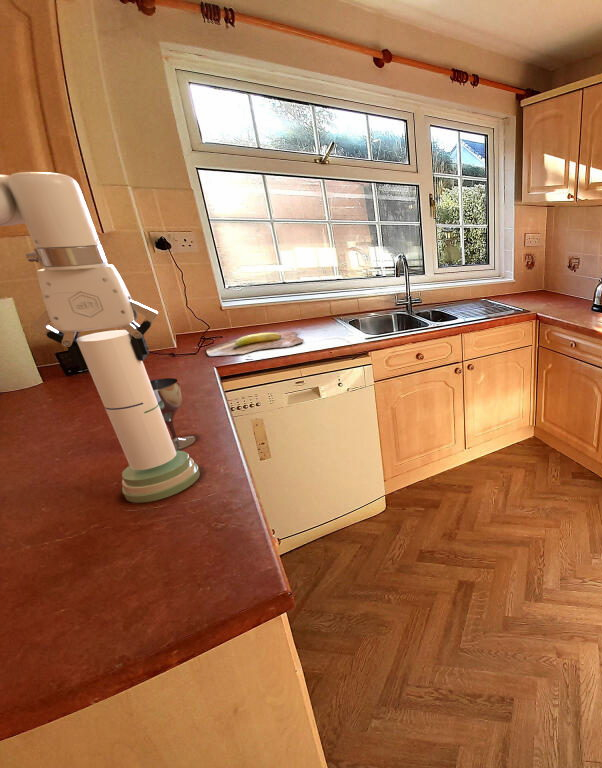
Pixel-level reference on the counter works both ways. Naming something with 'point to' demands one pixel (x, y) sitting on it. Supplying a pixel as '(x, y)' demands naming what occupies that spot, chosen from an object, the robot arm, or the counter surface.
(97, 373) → the cylindrical container
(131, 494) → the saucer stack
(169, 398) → the wine glass
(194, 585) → the counter surface
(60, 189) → the robot arm
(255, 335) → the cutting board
